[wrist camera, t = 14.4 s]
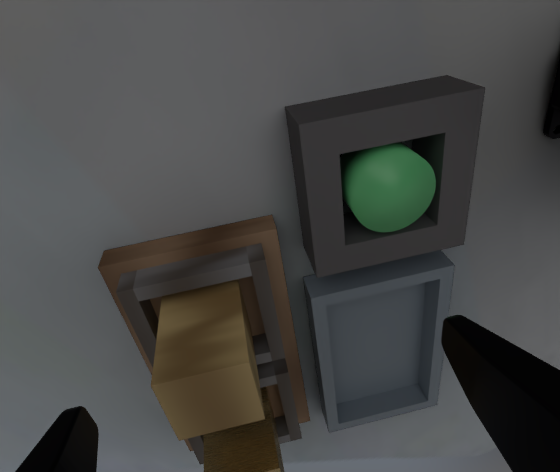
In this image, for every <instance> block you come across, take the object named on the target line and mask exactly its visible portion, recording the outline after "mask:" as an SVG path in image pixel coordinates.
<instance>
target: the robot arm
mask: <svg viewBox="0 0 560 472" xmlns="http://www.w3.org/2000/svg"><path fill="white" fill-rule="evenodd" d="M556 126H557V127H556ZM555 127H556V129H555V130H554V128H555ZM553 130H554V131H553ZM543 133H544V135H545V136H547V137H550V138H552V139H556V138H560V59H559V64H558V68H557V72H556V77H555V81H554V86H553V90H552V94H551V99H550V103H549V108H548V112H547V116H546V121H545V125H544V132H543ZM441 344H442V347H443V350H444V352H445V354H446V356H447V358H448V360H449V362H450V364H451V366H452V368H453V370H454V372H455V374H456V376H457V378H458V380H459V382H460V384H461V386H462V388H463V390H464V393H465V395H466V397H467V398H468V400H469V402H470V404H471V406H472V408H473V409H474V411H475V413H476V414H477V416H478V417H479V419H480V421H481V422H482V424H483V425H484V427H485V429H486V430H487V432H488V433H489V435H490V437H491V438H492V440H493V441H494V443H495V444H496V446H497V448H498V449H499V451H500V452H501V454H502V456H503V457H504V459H505V460H506V462H507V464H508V465H509V467H510V468H511V470H512V471H513V472H560V370H558V369H557V368H555V367H553V366H551V365H550V364H548V363H546V362H544V361H542V360H541V359H539V358H537V357H535V356H534V355H532V354H530V353H528V352H526V351H525V350H523V349H521V348H519V347H518V346H516V345H514V344H512V343H510V342H509V341H507V340H505V339H503V338H502V337H500V336H498V335H496V334H494V333H493V332H491V331H489V330H487V329H486V328H484V327H482V326H480V325H479V324H477V323H475V322H473V321H471V320H470V319H468V318H466V317H464V316H462V315H455V316H451V317H447V318H445V319H444V320H443V327H442V335H441ZM97 451H98V427H97V425H96V423H95V422H94V420H93V419H92V417H91V416H90V414H89V413H88V411H87V410H86V409H85V408H84V407H82V406H78V407H74V408H70V409H67V410H65V411H63V412H62V413H61V414H60V415H59V417H58V418H57V419H56V421H55V422H54V423H53V424H52V426H51V427H50V428H49V429H48V431H47V432H46V433H45V435H44V436H43V437H42V438H41V440H40V441H39V442H38V443H37V445H36V446H35V447H34V449H33V450H32V451H31V452H30V454H29V455H28V456H27V457H26V459H25V460H24V461H23V463H22V464H21V465H20V466H19V468H18V469H17V470H16V471H15V472H96V467H97Z"/></svg>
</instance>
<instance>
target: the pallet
mask: <svg viewBox="0 0 560 472" xmlns="http://www.w3.org/2000/svg"><path fill="white" fill-rule="evenodd" d="M98 269H99V271H100V273H101V275H102V277H103V279H104V281H105V283H106V285H107V287H108V289H109V291H110V293H111V295H112V297H113V299H114V301H115V303H116V305H117V307H118V309H119V311H120V313H121V315H122V316H123V318H124V320H125V322H126V324H127V326H128V328H129V330H130V332H131V334H132V336H133V338H134V340H135V342H136V344H137V346H138V348H139V350H140V352H141V354H142V356H143V358H144V360H145V362H146V364H147V366H148V368H149V370H150V372H151V374H152V381H151V387H152V389H153V391H154V393H155V395H156V397H157V399H158V401H159V403H160V405H161V407H162V409H163V411H164V412H165V414H166V416H167V418H168V420H169V422H170V424H171V426H172V428H173V430H174V432H175V434H176V436H177V438H178V440H179V441H180V440H185V442H186V444H187V446H188V448H189V450H190V451H194V453H195V455H196V457H197V459H198V461H199V463H200V464H203V463H204V434H208V433H212V432H216V431H220V430H224V429H228V428H232V427H236V426H240V425H244V424H248V423H251V422H255V421H259V420H263V419H265V415H264V408H263V402H262V396H261V389H260V388H262V387H266V386H267V389H268V393H269V396H270V400H271V404H272V407H273V411H274V417H275V423H276V428H277V434H278V439H279V444H281V443H285V442H289V441H293V440H297V439H301V438H302V436H301V431H300V426H299V423H303V422H307V421H310V417H309V411H308V406H307V400H306V394H305V388H304V383H303V377H302V371H301V366H300V360H299V354H298V349H297V343H296V337H295V332H294V326H293V320H292V314H291V309H290V303H289V297H288V292H287V286H286V280H285V275H284V269H283V263H282V257H281V252H280V246H279V240H278V235H277V229H276V226H275V223H274V220H273V217H272V215H268V216H263V217H259V218H254V219H250V220H245V221H240V222H236V223H231V224H226V225H222V226H217V227H212V228H208V229H203V230H198V231H194V232H189V233H184V234H180V235H175V236H170V237H166V238H161V239H156V240H152V241H147V242H142V243H138V244H133V245H128V246H124V247H119V248H114V249H110V250H105V251H104V252H103V255H102V258H101V260H100V263H99V266H98Z"/></svg>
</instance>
